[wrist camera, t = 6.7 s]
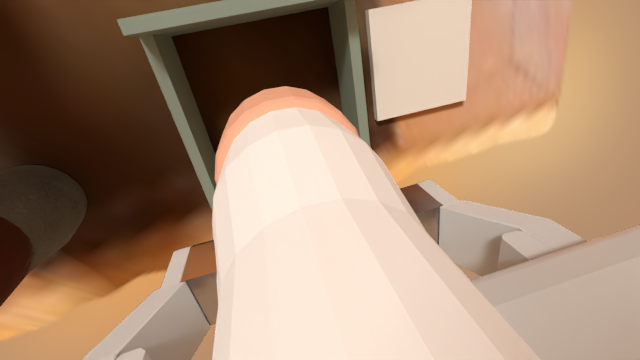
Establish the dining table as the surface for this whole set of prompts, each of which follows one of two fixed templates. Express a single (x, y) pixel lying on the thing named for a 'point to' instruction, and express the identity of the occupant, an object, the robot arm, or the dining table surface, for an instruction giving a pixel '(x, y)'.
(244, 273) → the pepper shaker
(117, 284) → the dining table surface
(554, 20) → the dining table surface
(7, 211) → the bottle
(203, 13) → the grey open box
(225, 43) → the dining table surface
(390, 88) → the ceramic tile
